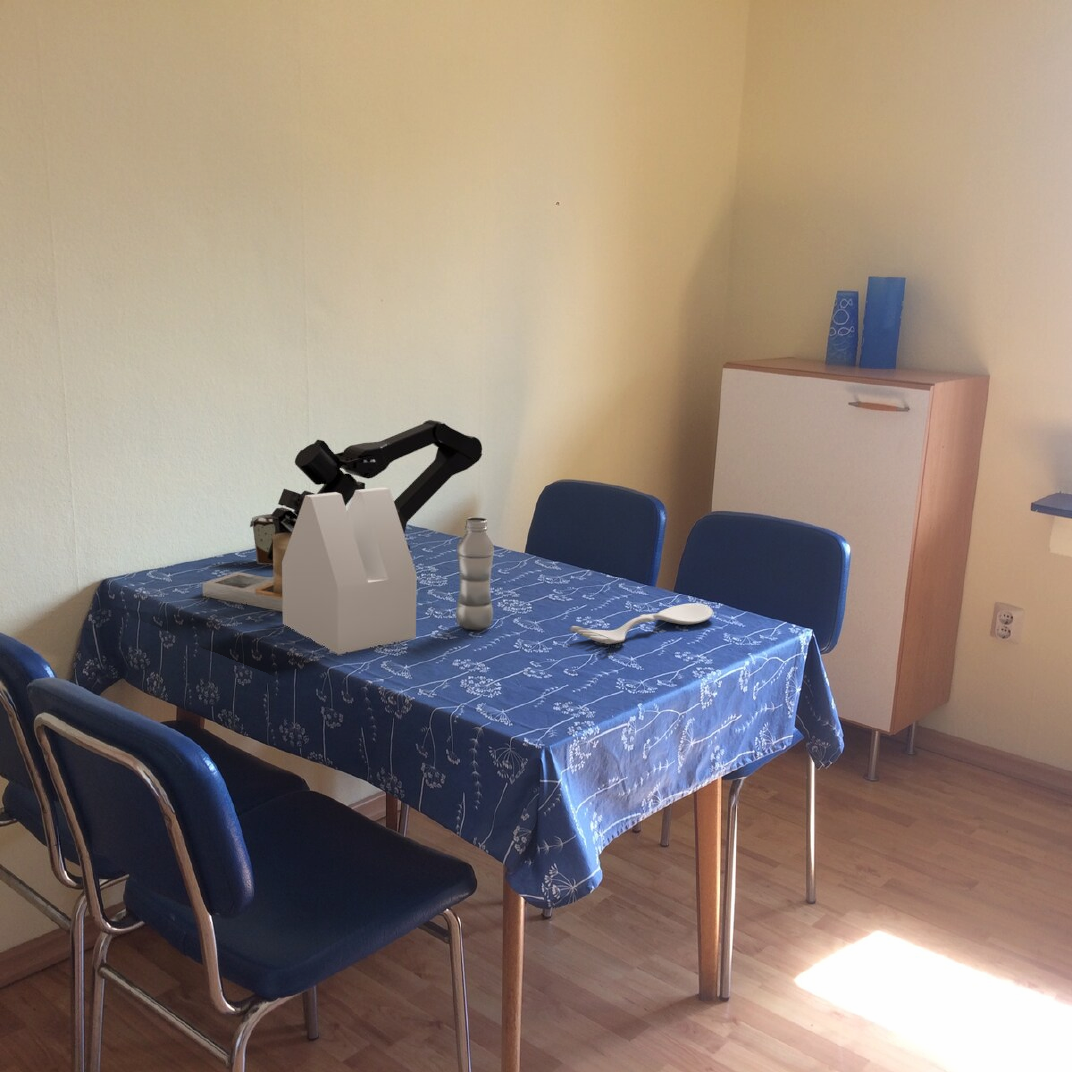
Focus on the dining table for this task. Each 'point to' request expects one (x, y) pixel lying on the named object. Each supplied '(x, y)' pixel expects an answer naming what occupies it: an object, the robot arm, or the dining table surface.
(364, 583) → the white notched block
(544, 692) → the dining table surface
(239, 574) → the compartment tray
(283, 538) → the wooden peg
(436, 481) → the robot arm
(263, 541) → the food container
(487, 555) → the plastic bottle
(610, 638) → the spoon
